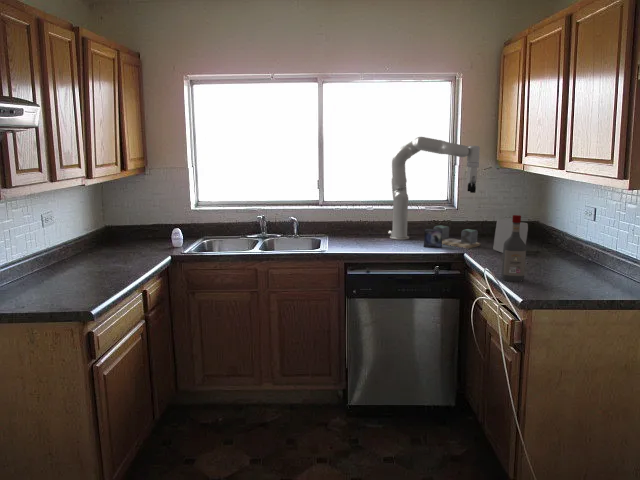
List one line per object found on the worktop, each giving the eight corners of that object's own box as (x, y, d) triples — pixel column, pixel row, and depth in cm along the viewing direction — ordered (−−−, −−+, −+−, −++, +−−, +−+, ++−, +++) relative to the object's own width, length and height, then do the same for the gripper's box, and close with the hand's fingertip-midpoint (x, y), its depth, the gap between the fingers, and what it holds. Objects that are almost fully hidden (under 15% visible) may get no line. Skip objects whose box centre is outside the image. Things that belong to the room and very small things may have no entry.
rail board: (429, 242, 347) (429, 226, 345) (441, 239, 357) (442, 224, 355) (468, 248, 327) (469, 232, 326) (480, 245, 337) (481, 229, 335)
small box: (423, 247, 331) (424, 230, 329) (424, 245, 337) (425, 228, 335) (441, 248, 328) (442, 231, 326) (442, 246, 334) (442, 229, 332)
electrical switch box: (528, 255, 318) (533, 221, 317) (516, 255, 308) (521, 220, 307) (505, 251, 329) (509, 218, 327) (492, 251, 319) (497, 217, 317)
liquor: (524, 282, 249) (529, 217, 244) (503, 281, 251) (508, 216, 245) (520, 277, 258) (525, 214, 253) (500, 276, 260) (504, 214, 254)
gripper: (464, 164, 357) (463, 190, 360) (469, 165, 340) (467, 193, 343) (476, 164, 356) (474, 190, 359) (481, 165, 339) (480, 193, 343)
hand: (471, 191), depth 351 cm, fingers open, 9 cm apart
